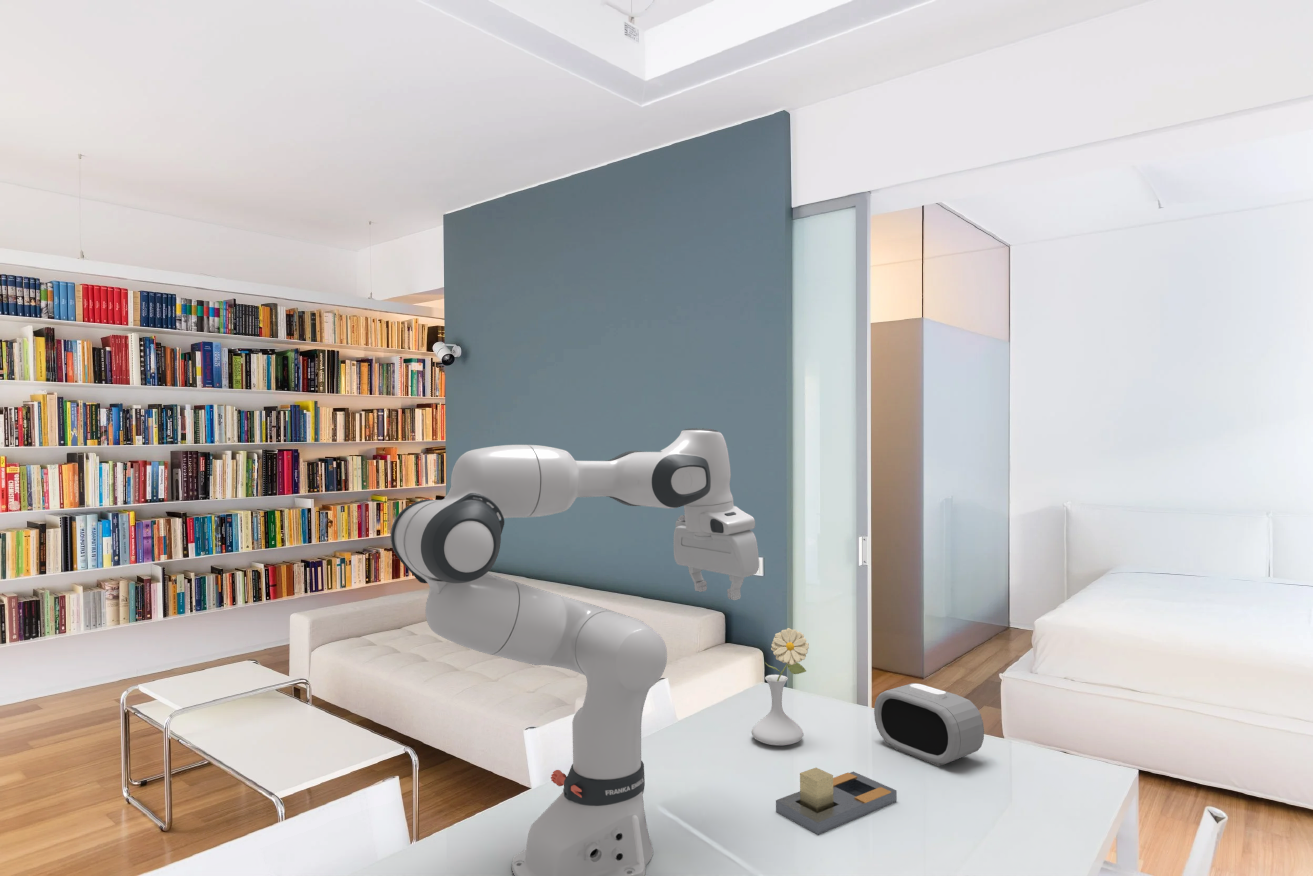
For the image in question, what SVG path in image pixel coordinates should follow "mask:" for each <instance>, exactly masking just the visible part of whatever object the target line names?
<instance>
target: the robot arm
mask: <svg viewBox="0 0 1313 876" xmlns="http://www.w3.org/2000/svg"><path fill="white" fill-rule="evenodd" d="M731 477H732V473H731V463H730V455H729V449H728V446H727V442H726V439H725V437H724V434H722V433H721V431H719V430H717V429H713V428H704V427H703V428H697V427H694V428H689V427H688V428H685V429H683V430H681V432H680V434H679V436H677V437H676V439H675V440H673V442H672V443H670V444H669V445H668V446H666V447H664V448H663V449H661V450H660V451H641V450H628V451H625V452H623V453H621V454H619V455H616V456H615V457H613V458H611V459H608V460H576V459H575V458H574V457H573V456H572V454H571V453H570V452H569V451H567V450H565V449H562V448H557V447H554V446H553V447H551V446H547V445H538V444H537V445H536V444H503V445H494V446H487V447H481V448H476V449H471V450H468V451H465V452H464V453H463V454H461V455H460V456H459V457H458V459H456V461H455V464H454V466H453V469H452V472H451V476H450V485H451V487H450V488H449V491H448V493H447V494H446V495H445V496H444V498H443V499H431V498H430V499H422V500H418V501H415V502H412V503H411V504H409V505H407V506H406V507H405V508H403V509H402V510H401V511H400V512H399V513H398V514H397V516H396V517H395V518H394V520H393V523H392V525H391V527H390V543H391V547H392V549H393V552H394V554H395V555H396V557H397V558H398V560H399V561H400V562H401V563H402V565H404V567H406V569H407V570H408V571H409V572H410V573H411V575H413V577H414V579H416V580H417V581H418V582H419V583H422V584H428V586H429V593H428V595H427V598H426V602H425V618H426V623H427V625H428V627H429V628H430V629H431V631H432V632H433V633H434V634H436V635H438V636H439V637H441V638H443V639H445V640H447V641H450V642H452V643H454V644H457V645H459V646H462V647H465V648H468V649H469V650H474V651H476V652H479V653H483V654H487V655H490V656H491V655H492V656H493V657H494V656H495V657H498V658H499V657H500V658H504V659H507V660H510V661H511V660H512V661H516V662H519V663H525V664H528V665H533V666H549V667H556V668H562V669H565V670H570V671H573V672H575V673H577V674H580V675H583V676H584V677H585V678H586V691H585V697H584V700H583V701H584V702H583V704H582V706H581V707H580V708H579V709H578V710H577V711H576V712H575V714H574V716H573V718H572V725H571V728H572V764H571V765H570V768H569V771H568V773H567V775H566V774H565V773H564V772H562V771H561V770H560V769H555V770H553V772H552V774H551V775H550V779H551V782H552V783H553V784H555V785H556V786H558V787H562V786H563V789H562V792H561V794H559V796H558V797H557V798H556V799H555V800H554V801H553V802H552V803H551V804H550V805H549V806H548V808H546V809H545V810H544V811H543V812H542V813H541V815H540V816H538V817H537V818H536V819H535V820H534V821H533V822H532V823H531V824H530V825H531V826H530V827H529V831H528V834H527V840H526V849H525V850H522V851H521V852H519V853H516V854H515V855H514V856H513V858H512V862H511V871H513V872H512V874H513V873H514V875H515V876H646V867H647V865H648V864H649V862H650V861H651V860H652V858H653V854H654V847H653V844H652V842H651V838H650V834H649V830H648V825H647V821H646V812H645V804H644V803H645V802H644V792H645V784H646V783H645V779H646V778H645V763H644V762H643V760H642V723H643V722H642V719H643V711H644V707H645V703H646V699H647V696H648V693H649V691H650V689H651V688H652V687H654V686H655V685H656V684H657V683H658V681H659V680H660V679H661V677H662V676H663V674H664V672H665V669H666V666H667V662H668V650H667V645H666V643H665V640H664V639H663V637H662V636H661V634H659V633H658V631H656V630H655V629H654V628H652V627H651V626H650V625H649V624H647V623H645V622H644V621H643V620H641V619H639V618H636V617H632V616H630V615H626V614H623V613H620V612H617V611H614V610H611V609H608V608H605V607H602V606H599V605H596V604H592V603H588V602H585V601H582V600H578V599H576V598H572V597H568V596H565V595H561V594H557V593H555V592H550V591H547V590H544V589H540V588H537V587H534V586H531V585H527V584H524V583H522V582H521V583H520V582H517V581H515V580H512V579H508V578H504V577H500V576H497V575H494V574H491V573H489V571H490V570H492V568H493V566H494V564H495V563H496V561H497V559H498V556H499V553H500V550H501V549H500V548H501V541H502V533H503V530H504V527H505V519H509V518H510V519H512V518H513V519H514V518H518V519H519V518H537V517H545V516H551V515H554V514H559V513H563V512H566V511H567V510H569V509H570V508H571V506H572V505H573V504H574V502H575V501H576V499H577V498H595V497H597V498H598V497H600V498H601V497H608V498H609V499H610V498H611V499H612V500H615V501H617V502H618V503H619V504H620V503H621V504H623V505H626V506H629V507H651V508H661V509H677V508H681V507H683V510H684V515H683V514H681V515H679V517H678V518H677V519H676V521H675V528H674V531H673V557H674V561H675V563H676V564H677V565H678V566H683V567H686V568H687V567H688V573H689V575H690V577H691V580H692V582H693V583H694V584H693V586H694V591H696V592H700V593H702V592H706V591H707V589H708V586H707V583H708V582H707V580H705V579H704V577H703V574H702V571H708V572H712V573H718V574H723V575H728V576H729V577H728V578H729V582H731V583H730V587H729V588H727V589H726V593H727V598H728V599H729V600H732V601H737V600H740V599H741V597H742V595H741V588H742V586H743V583H744V580H745V578H747V577H751V576H755V575H757V573H758V571H759V569H760V560H759V558H760V556H759V555H760V554H759V550H758V549H759V548H758V541H757V538H756V535H755V532H753V531H752V530H754V529H755V528H756V520H755V518H754V517H753V516H752V515H751V514H749V513H746V512H745V511H743V510H742V509H740V508H739V507H738V506H737V505H735V504H734V496H733V494H732V492H731V487H730V484H731V483H730V482H731ZM514 875H513V876H514Z"/></svg>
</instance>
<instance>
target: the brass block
mask: <svg viewBox="0 0 1313 876" xmlns="http://www.w3.org/2000/svg"><path fill="white" fill-rule="evenodd" d="M833 778H834V775H833V774H832V773H829V772H827V771H825V770H822V769H821V768H818V767H813V768H811V769H807V770H805V771H802V772H799V791H800V805H802V806H804V807H806V808H808V809H810V810H812V811H814V812H816V813H819V812H822V811H824V810H827V809H829V808H832V807H834V800H833Z"/></svg>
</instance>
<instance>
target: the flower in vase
mask: <svg viewBox="0 0 1313 876" xmlns="http://www.w3.org/2000/svg"><path fill="white" fill-rule="evenodd" d="M809 649H810V645H809V643H808V642H807V638H806V637H805V635H804V633H802V632H801V631H797V629H795V628H794V629H791V628H790V627H788V628H786V629H781V631H780V632H777V633H775V634H774V637H773V641H772V643H771V648H770V650H771V651H772V652H773V655H774V656H775V659H776V660H777V661H779V662H782V663H783V664H785V666H784V667H783V669H782V670H779V669H778V668H777V667H775V666H771V665H769V664H768V663H767V662H766V661H765V662H764V664H765V665H766V666H767V667H769V668H771V669H773V670H775V671H778V673H779V672H780V673H779V674H768V675H766V676H765V677H764V679H765V681H766V682H767V684H768V686H769V689H770V695H771V696H770V697H771V708H770V710H769V712H768V713H767V714H766V715H765V716H763V717H762V718H761V719H760V720H758V721H757V722H756V723H755V724H754V725H753V727H752V729H751V735H752V736H753V738H754V739H755V740H757V741H758V742H761V743H762V744H765V745H770V746H789V745H793V744H796V743H799V742H800V741H801V740H802V739H803V737H804V736H805V735H804V734H805V733H804V731H803V729H802V728H801V726H800V725H799V724H798V723H797V722H796V721H795V720H793V719H792V718H791V717H790V716H789V715H787V714H786V712H784V709H783V702H782V701H783V690H784V687H785V684H786V683H787V681H788V679H789V678H788V677H787V676H786V675H783V673H784V672H785V670H786V668H787V669H788V670H789V672H790V673H791V674H793V675H799V674H803V673H805V672H807V670H806V668H805V667H804V666H803V665H801V664H800V662H802V661H804V660H805V659H806V657H807V654H808V653H809Z"/></svg>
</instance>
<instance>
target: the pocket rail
mask: <svg viewBox="0 0 1313 876" xmlns="http://www.w3.org/2000/svg"><path fill="white" fill-rule="evenodd" d="M897 791H898V790H896V789H894V788H892V787H890V786H887V785H885V784H883V783H881V782H878V781H876V780H874V779H871V778H870V777H868V776H867V777H866V776H864V775H863V774H860V773H857V772H856V771H851V772H845V773H843V774H839V775H837V776H835V777H834V776H833V800H834V807H832V808H829V809H827V810H824V811H822V812H819V813H816V812H814V811H812V810H810V809H808V808H806V807H804V806H802V805H800V790H799V791H798V792H794V793H791V794H789V795H786V796H783V797H780V798H779V799H775V812H776V813H777V814H778V815H781V816H782V817H784V818H786V819H788V820H790V821H792V822H793V823H795V824H796V825H799V826H800V827H802V828H804V829H806V830H808V831H809V832H812V833H814V835H816V836H820V835H822V834H824V833H826V832H829V831H831V830H833V829H836V828H838V827H840V826H843V825H846V824H848V823H850V822H853V821H855V820H856V819H859V818H862V817H864V816H866V815H868V814H871V813H873V812H876V811H878V810H881V809H883V808H886V807H888V806H890V805H893V804H895V803H897V802H898V801H897V799H898V797H897V793H898V792H897Z"/></svg>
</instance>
